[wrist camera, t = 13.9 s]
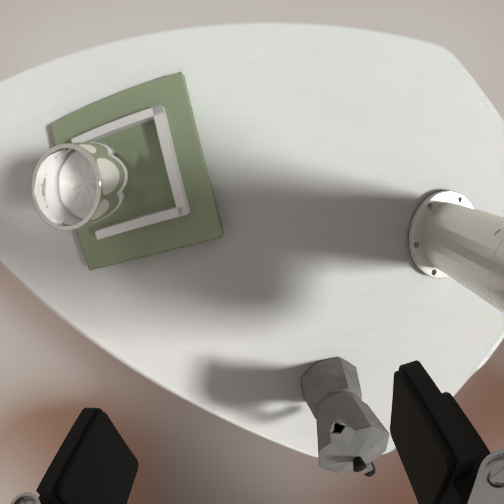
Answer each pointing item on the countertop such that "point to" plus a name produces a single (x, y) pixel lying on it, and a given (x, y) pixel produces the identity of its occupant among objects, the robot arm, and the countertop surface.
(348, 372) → the coffeepot
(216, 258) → the countertop surface
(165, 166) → the plate
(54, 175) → the beer glass
